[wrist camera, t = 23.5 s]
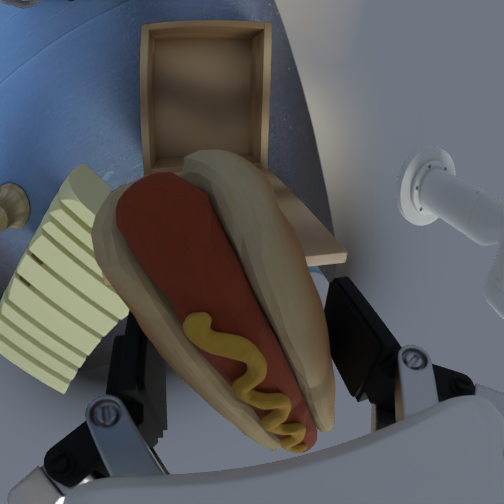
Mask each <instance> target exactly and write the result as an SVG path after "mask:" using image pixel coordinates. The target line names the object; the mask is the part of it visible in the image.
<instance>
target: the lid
mask: <svg viewBox="0 0 504 504" xmlns="http://www.w3.org/2000/svg"><path fill="white" fill-rule="evenodd" d="M258 169H259V170H260V171H262V172H263V173H264V174H265V175H266V176H267V178H268V179H269V181H270V183H271V184H272V187H273V190H274V193H275V196H276V199H277V202H278V205H279V208H280V209H281V211H282V212H283V214H284V215H285V217H286V218H287V219H288V221H289V222H290V224H291V225H292V227H293V228H294V230H295V233H296V235H297V237H298V239H299V241H300V244H301V246H302V248H303V251H304V254H305V258H306V262H307V265H308V266H317V265H326V264H335V263H344V262H345V261H346V257H347V251H346V250H345V249H344V248H343V246H342V245H341V244H340V243H339V242H338V241H337V240H336V239H335V237H334V236H333V235H332V234H331V233H330V232H329V231H328V230H327V229H326V228H325V226H324V225H323V224H322V223H321V222H320V221H319V220H318V219H317V218H316V217H315V216H314V215H313V214H312V212H311V211H310V210H309V209H308V208H307V207H306V206H305V205H304V204H303V203H302V202H301V201H300V200H299V199H298V198H297V197H296V196H295V195H294V194H293V193H292V192H291V191H290V190H289V189H288V188H287V186H286V185H285V184H284V183H283V182H282V181H281V180H280V179H279V178H278V177H277V176H276V175H275V174H274V173H273V172H272V171H271V170H270V169H269V168H258ZM174 174H176V175H178V176H179V177H180V174H181V172H175V173H174ZM145 176H148V175H144V176H143V177H145ZM102 276H103V279H104V282H105V284H106V285H107V284H110V282H109V281H108V280H107V278H106V277H105V275H104V273H103V272H102Z"/></svg>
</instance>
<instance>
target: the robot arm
mask: <svg viewBox="0 0 504 504" xmlns="http://www.w3.org/2000/svg"><path fill="white" fill-rule="evenodd" d="M411 200H412V204H413V206H414V208H415V209H416V211H418V212H419V213H421V214H422V215H432V214H435V215H437V216H438V217H440V218H441V219H443V220H444V221H446V222H447V223H449V224H450V225H452V226H453V227H454V228H456V229H458V230H459V231H460V232H462V233H463V234H465V235H466V236H467V237H469V238H470V239H471V240H473V241H474V242H476V243H477V244H480V245H484V246H489V245H493V244H497V243H500V245H499V248H498V251H497V254H496V257H495V259H494V261H493V264H492V266H491V268H490V270H489V272H488V274H487V276H486V279H485V281H484V284H483V295H484V297H485V299H486V300H487V302H488V303H489V304H490V306H491V307H492V308H493V309H494V310H495V311H496V312H497V313H498V314H499V315H500V316H501V317H502V318H503V319H504V201H503V200H501V199H499V198H498V197H496V196H494V195H492V194H490V193H488V192H487V191H485V190H483V189H481V188H479V187H477V186H475V185H473V184H471V183H469V182H467V181H465V180H463V179H461V178H459V177H457V176H455V175H453V174H451V173H450V172H449V169H448V167H447V166H446V165H445V164H444V163H443V162H441V161H438V160H430V161H428V162H426V163H425V164H423V165H422V166H421V167H420V169H419V170H418V171H417V173H416V175H415V177H414V180H413V183H412V187H411ZM324 313H325V318H326V322H327V327H328V334H329V341H330V351H331V357H332V359H333V361H334V363H335V365H336V367H337V369H338V371H339V373H340V375H341V377H342V379H343V381H344V383H345V385H346V386H347V389H348V391H349V393H350V394H351V395H352V396H353V397H354V396H355V397H356V399H357V401H358V402H360V401H363V400H366V399H369V401H370V403H372V409H371V410H372V411H371V433H370V434H367V435H365V436H362V437H359V438H357V439H354V440H351V441H348V442H345V443H342V444H339V445H337V446H333V447H330V448H327V449H323V450H320V451H317V452H313V453H309V454H306V455H302V456H298V457H294V458H290V459H286V460H281V461H276V462H272V463H266V464H261V465H256V466H250V467H244V468H237V469H230V470H222V471H213V472H202V473H189V474H172V475H171V474H170V472H169V470H168V469H167V467H166V466H165V465H164V463H163V461H162V460H161V458H160V457H159V455H158V454H157V452H156V450H155V449H154V446H155V445H156V444H157V443H158V438H161V437H162V438H163V430H167V405H166V361H165V360H164V359H163V358H162V357H161V355H160V354H159V352H158V351H157V349H156V348H155V346H154V345H153V343H152V342H151V341H150V340H149V338H148V337H147V336H146V335H145V333H144V332H143V331H142V329H141V328H140V326H139V324H138V322H137V320H136V318H135V316H134V315H133V313H132V312H131V311H130V310H129V314H128V319H127V325H126V331H125V335H122V336H116V337H115V340H114V344H113V350H112V356H111V362H110V368H109V374H108V381H107V389H106V395H101V396H98V397H96V398H94V399H93V400H92V401H91V402H90V403H89V404H88V406H87V408H86V412H85V416H86V421H85V422H84V423H82V424H81V425H80V426H79V427H77V428H76V429H75V430H74V431H72V432H71V433H70V434H69V435H67V436H66V437H65V438H63V439H62V440H61V441H59V442H58V443H57V444H56V445H54V446H53V447H52V448H50V450H49V451H48V452H47V453H46V455H45V458H44V465H43V466H42V467H39V466H37V467H36V468H35V469H34V470H33V471H32V472H30V473H29V474H28V475H27V476H26V477H25V478H24V479H23V480H21V481H20V482H19V483H18V484H17V485H16V486H14V487H13V488H12V489H11V490H10V492H9V493H8V504H504V393H502V392H499V391H496V390H493V389H491V388H487V387H485V386H482V385H479V384H475V386H474V384H473V382H472V380H471V379H470V378H469V377H468V376H467V375H465V374H462V373H459V372H456V371H453V370H450V369H447V368H444V367H440V366H437V365H434V364H432V362H431V359H430V356H429V354H428V353H427V352H426V351H425V350H424V349H423V348H421V347H419V346H415V345H407V346H404V347H401V346H400V345H399V343H398V342H397V340H396V339H395V337H394V336H393V335H392V333H391V332H390V331H389V329H388V328H387V327H386V325H385V324H384V323H383V321H382V320H381V319H380V317H379V316H378V314H377V313H376V312H375V311H374V309H373V308H372V307H371V305H370V304H369V303H368V301H367V300H366V299H365V298H364V296H363V295H362V294H361V292H360V291H359V290H358V289H357V287H356V286H355V285H354V283H353V282H352V281H351V280H350V279H349V277H340V278H334V279H333V282H331V283H330V284H329V287H328V292H327V297H326V302H325V307H324Z"/></svg>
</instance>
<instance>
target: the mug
mask: <svg viewBox="0 0 504 504" xmlns="http://www.w3.org/2000/svg"><path fill="white" fill-rule="evenodd" d="M1 1H2V2H3V3H4V4H8V5H13V6H16V7H19V8H29V7H32V6H34V5H36V4H37V3H39V2H40V1H41V0H29V1H22V0H1ZM69 1H73V0H69Z"/></svg>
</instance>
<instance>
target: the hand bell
mask: <svg viewBox="0 0 504 504" xmlns="http://www.w3.org/2000/svg"><path fill="white" fill-rule="evenodd" d="M29 215H30V205H29V200H28V197H27V195H26V194H25V192H24V191H23V189H22V188H21V187H20V186H18V185H16V184H14V183H6V184H3V185H2V186H1V187H0V232H1V231H4V230H5V229H7V228H12V229H18V228H21V227H22V226H24V225H25V224H26V222H27V221H28V218H29Z"/></svg>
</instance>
